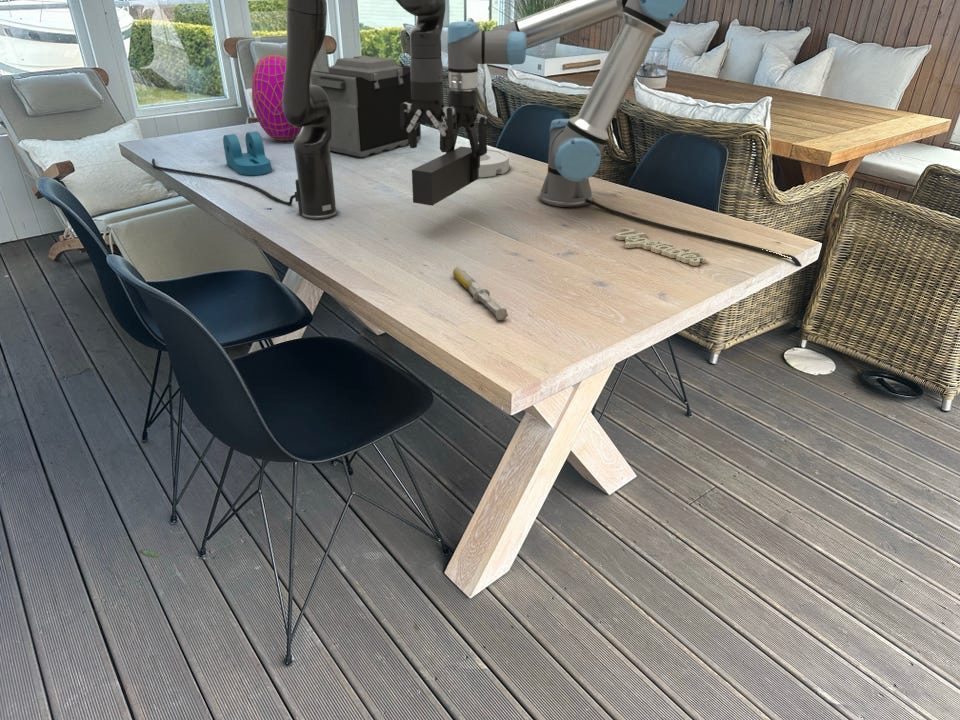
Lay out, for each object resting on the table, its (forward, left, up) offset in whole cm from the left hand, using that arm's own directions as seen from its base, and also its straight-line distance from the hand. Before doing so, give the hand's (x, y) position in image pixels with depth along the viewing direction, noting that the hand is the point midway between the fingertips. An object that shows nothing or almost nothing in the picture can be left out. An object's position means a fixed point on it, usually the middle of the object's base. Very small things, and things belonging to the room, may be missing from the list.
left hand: (429, 149), depth 166 cm
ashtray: (-17, +63, -22) cm, 68 cm away
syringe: (+27, -29, -22) cm, 45 cm away
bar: (0, +9, -12) cm, 16 cm away
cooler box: (-66, +73, -22) cm, 100 cm away
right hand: (0, +19, -12) cm, 22 cm away
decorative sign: (+55, +16, -22) cm, 61 cm away
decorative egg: (-100, +65, -22) cm, 121 cm away
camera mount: (-84, +28, -22) cm, 91 cm away
